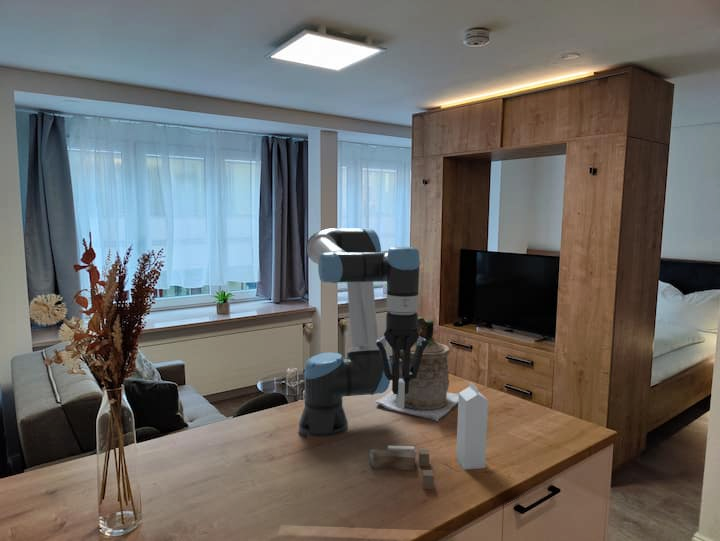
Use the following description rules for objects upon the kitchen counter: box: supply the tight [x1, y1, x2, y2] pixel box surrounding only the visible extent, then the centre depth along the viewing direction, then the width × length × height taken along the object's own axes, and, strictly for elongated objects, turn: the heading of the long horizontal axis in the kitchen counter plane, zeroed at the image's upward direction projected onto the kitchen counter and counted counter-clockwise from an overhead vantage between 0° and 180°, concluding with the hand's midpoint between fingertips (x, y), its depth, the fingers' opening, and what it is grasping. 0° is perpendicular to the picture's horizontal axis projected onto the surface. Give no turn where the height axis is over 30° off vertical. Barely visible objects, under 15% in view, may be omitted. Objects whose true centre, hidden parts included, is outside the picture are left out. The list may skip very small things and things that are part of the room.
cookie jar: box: [375, 316, 459, 422], centre depth 171 cm, size 25×25×32 cm
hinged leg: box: [369, 448, 416, 472], centre depth 126 cm, size 12×3×4 cm, turn 84°
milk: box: [455, 381, 489, 470], centre depth 130 cm, size 6×6×22 cm
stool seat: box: [387, 445, 435, 490], centre depth 123 cm, size 17×15×5 cm
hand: (399, 405), depth 119 cm, fingers closed
